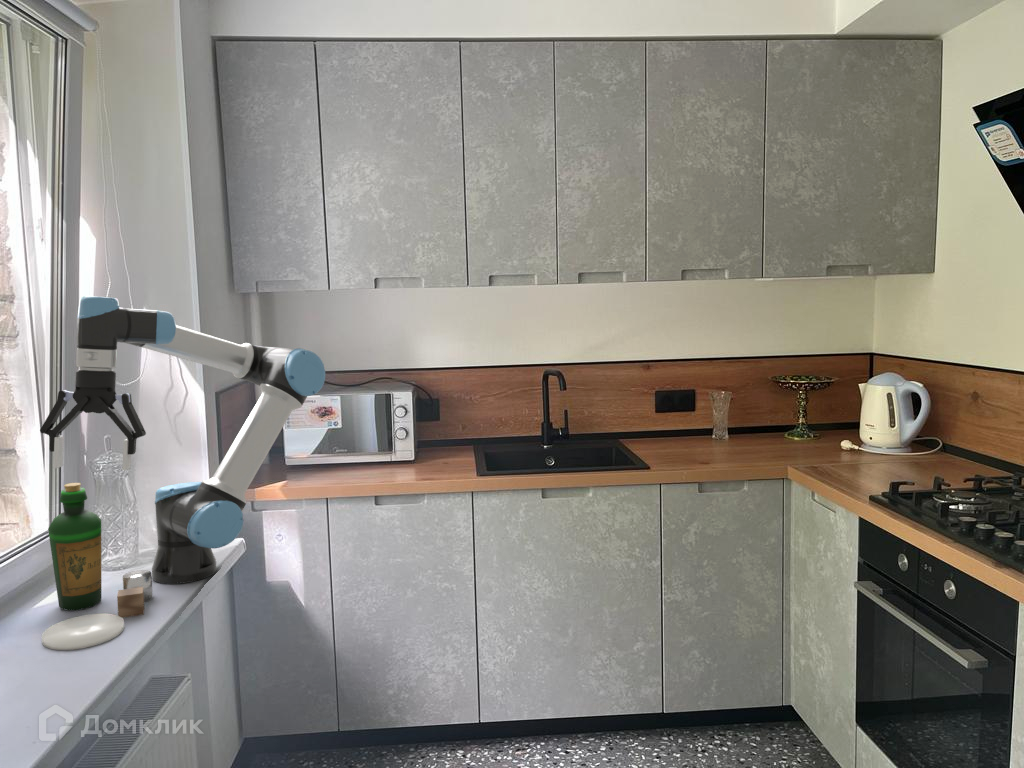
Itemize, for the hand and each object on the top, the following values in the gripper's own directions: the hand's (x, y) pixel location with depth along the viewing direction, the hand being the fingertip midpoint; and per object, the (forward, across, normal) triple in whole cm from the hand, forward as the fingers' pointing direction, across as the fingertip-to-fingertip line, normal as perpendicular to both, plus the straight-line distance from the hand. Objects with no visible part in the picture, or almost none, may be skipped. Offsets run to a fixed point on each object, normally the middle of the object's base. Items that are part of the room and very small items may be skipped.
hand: (92, 468), depth 165 cm
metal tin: (+32, +7, +12) cm, 35 cm away
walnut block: (+33, +8, +4) cm, 34 cm away
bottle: (+33, -5, +11) cm, 36 cm away
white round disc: (+34, +2, -6) cm, 34 cm away
